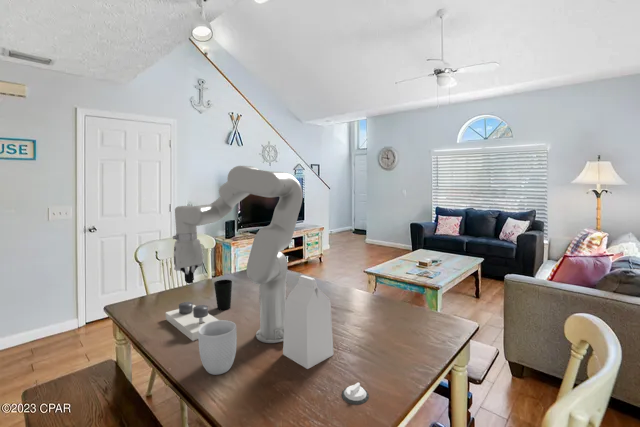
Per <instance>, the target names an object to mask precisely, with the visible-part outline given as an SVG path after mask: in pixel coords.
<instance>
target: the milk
mask: <svg viewBox="0 0 640 427" xmlns="http://www.w3.org/2000/svg"><path fill="white" fill-rule="evenodd" d="M331 303H332V302H331V299H330V298H329V296H327V295H326V294H325V293H324V292H323V291H322V290H321V289H320V288H319V287H318V284H317V280H316V278H314V277H310V276H307V275H299V278H298V280H297V283H296V285H295V286H294V288H292V289H291V291H290V293H288V295H287V296H286V300H285V315H284V341H282V342H283V345H282V347H283V348H282V355H283V356H284V357H287V358H288V359H289V360H291V361H294V362H295V363H297V364H298V365H300V366H302V367H303V368H305V369H307V370H309V369H310V368H312V367H314V366H315V365H316V366H317V365H318V364H320V363H321V362H323V361H325V360H327V359H328V358H331V357H332V356H334V341H333V340H334V338H333V323H332V322H333V320H332V307H331V306H332V304H331Z"/></svg>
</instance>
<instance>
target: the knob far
mask: <svg viewBox="0 0 640 427" xmlns="http://www.w3.org/2000/svg"><path fill="white" fill-rule="evenodd" d="M193 305H194V303H193V302H192V301H185V302H180V303H179V304H178V309H179V313H181V314H187V313H190V312H192V311H193Z"/></svg>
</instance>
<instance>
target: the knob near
mask: <svg viewBox="0 0 640 427" xmlns="http://www.w3.org/2000/svg"><path fill="white" fill-rule="evenodd" d="M208 307H209V306H208V305H206V304H199V305H195V307H194V308H193V316H194V317H195V318H199V323H200V324H201V323H203V317H206V316H207V315H208V314H209V308H208Z"/></svg>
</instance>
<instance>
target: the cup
mask: <svg viewBox="0 0 640 427" xmlns="http://www.w3.org/2000/svg"><path fill="white" fill-rule="evenodd" d="M232 290H233V281H232V280H230V279H219V280H216V281H214V293H215V299H216V306H217V307H216V308H217V311H222V312H223V311H228V310H230V309H231V304H232Z"/></svg>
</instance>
